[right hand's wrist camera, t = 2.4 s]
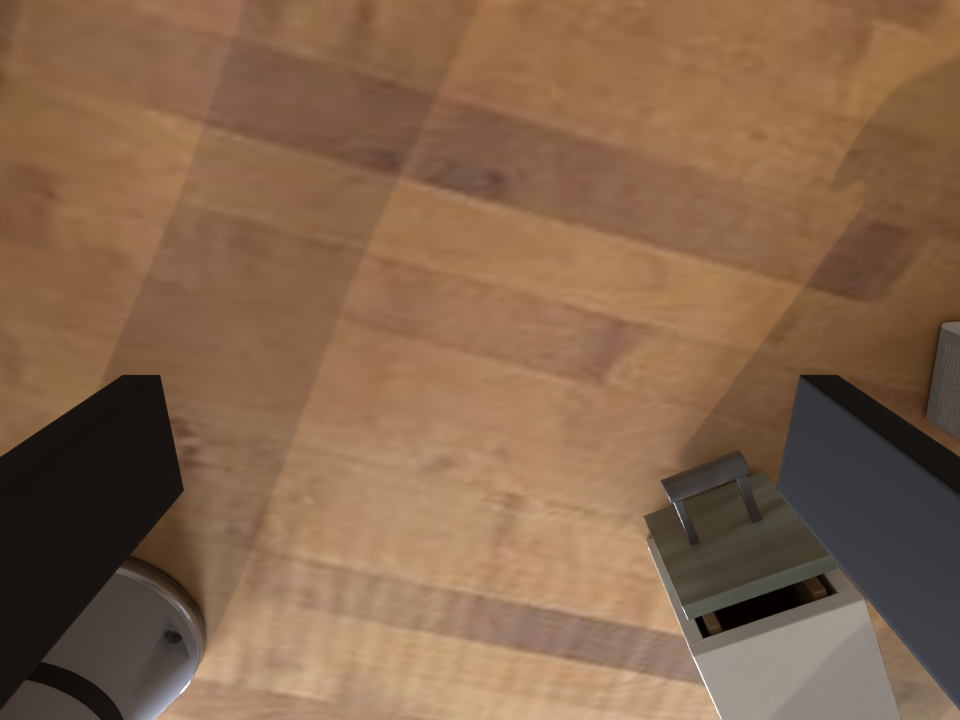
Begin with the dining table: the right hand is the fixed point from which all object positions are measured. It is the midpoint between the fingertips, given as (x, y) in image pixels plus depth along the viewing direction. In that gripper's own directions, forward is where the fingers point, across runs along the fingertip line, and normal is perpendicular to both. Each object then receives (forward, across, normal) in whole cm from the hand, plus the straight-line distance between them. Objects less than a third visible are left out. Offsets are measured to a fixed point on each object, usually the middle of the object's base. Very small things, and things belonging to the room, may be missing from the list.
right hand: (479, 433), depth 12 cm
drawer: (+26, -18, +23) cm, 39 cm away
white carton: (+27, -21, +29) cm, 44 cm away
